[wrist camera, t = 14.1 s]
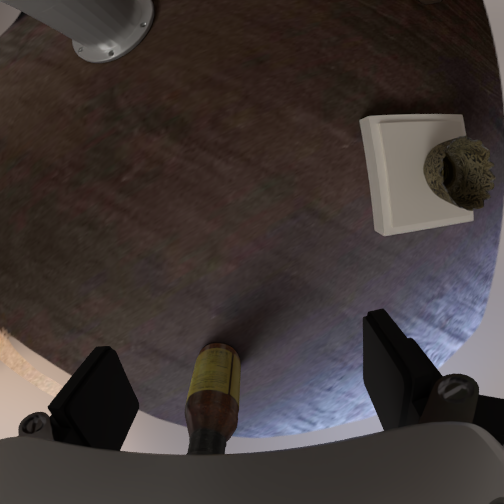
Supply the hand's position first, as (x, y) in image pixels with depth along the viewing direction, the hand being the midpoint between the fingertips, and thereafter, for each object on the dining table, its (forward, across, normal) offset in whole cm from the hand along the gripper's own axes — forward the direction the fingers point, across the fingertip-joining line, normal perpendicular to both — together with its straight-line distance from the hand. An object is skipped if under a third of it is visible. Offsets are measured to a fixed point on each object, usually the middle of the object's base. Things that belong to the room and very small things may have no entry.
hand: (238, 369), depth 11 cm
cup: (+24, -22, -4) cm, 33 cm away
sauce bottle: (+28, +8, +18) cm, 35 cm away
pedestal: (+28, -22, -4) cm, 36 cm away
